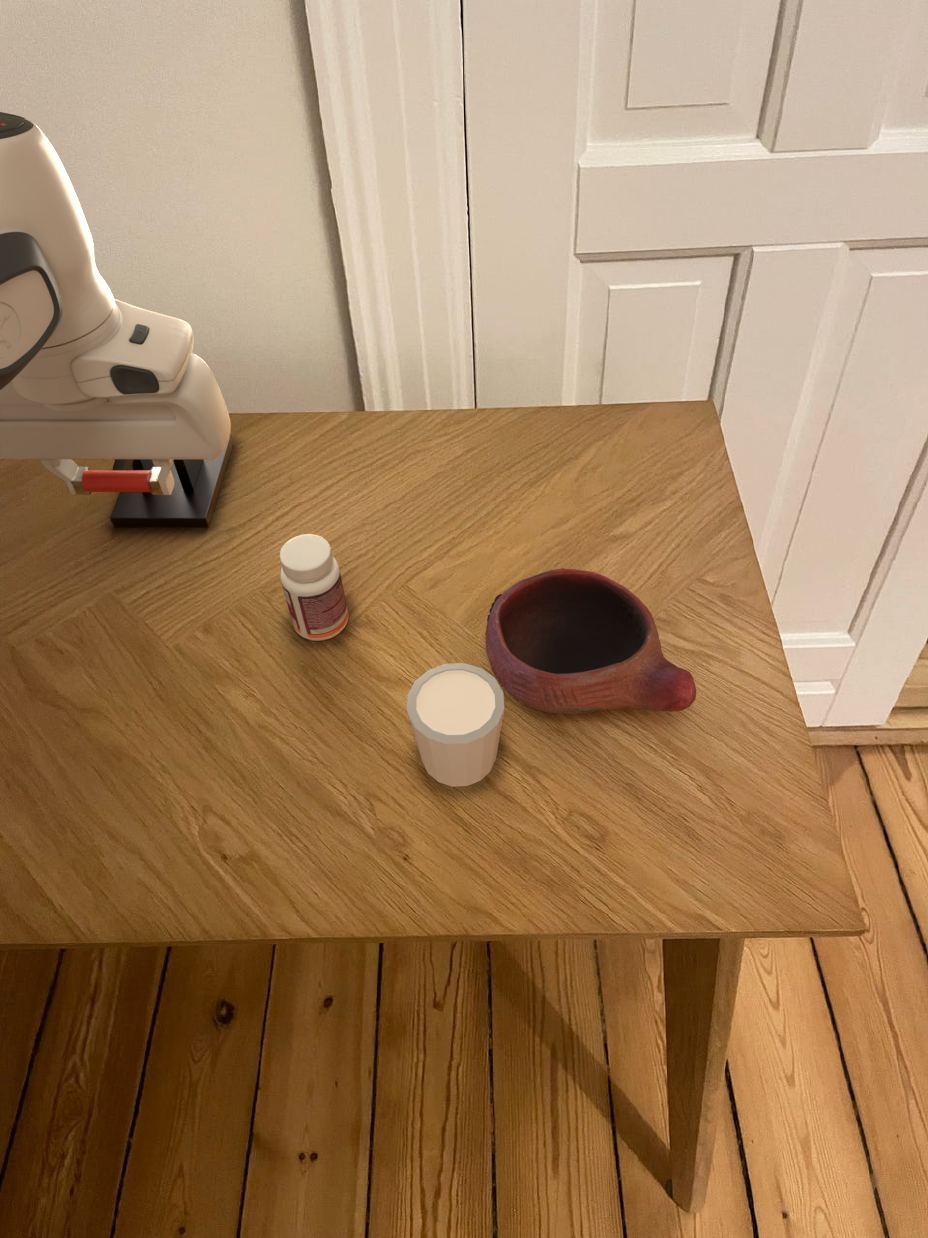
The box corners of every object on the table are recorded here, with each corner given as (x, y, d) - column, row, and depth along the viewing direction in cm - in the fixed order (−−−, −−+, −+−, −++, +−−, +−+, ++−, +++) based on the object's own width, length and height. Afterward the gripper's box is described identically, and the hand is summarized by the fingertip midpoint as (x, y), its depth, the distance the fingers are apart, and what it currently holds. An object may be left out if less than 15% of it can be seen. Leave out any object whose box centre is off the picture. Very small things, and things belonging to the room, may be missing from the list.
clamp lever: (154, 498, 78) (144, 480, 76) (89, 498, 78) (77, 480, 76) (180, 387, 84) (172, 368, 82) (120, 387, 84) (110, 368, 82)
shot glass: (521, 740, 71) (523, 687, 66) (473, 810, 68) (470, 760, 62) (445, 701, 74) (441, 647, 68) (395, 767, 70) (386, 714, 65)
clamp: (208, 527, 87) (171, 416, 77) (113, 527, 87) (64, 416, 77) (234, 443, 94) (202, 332, 85) (146, 443, 95) (104, 332, 85)
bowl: (468, 724, 72) (465, 662, 66) (503, 601, 80) (504, 535, 74) (679, 765, 69) (696, 704, 63) (694, 633, 77) (711, 567, 71)
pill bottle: (359, 609, 80) (346, 540, 74) (331, 649, 77) (315, 581, 71) (311, 592, 81) (295, 523, 75) (282, 631, 79) (262, 563, 72)
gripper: (-93, 375, 66) (-10, 515, 77) (192, 374, 65) (235, 517, 76) (-58, 323, 70) (16, 464, 81) (211, 322, 69) (250, 464, 80)
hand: (124, 489), depth 79 cm, fingers closed on clamp lever, 5 cm apart
